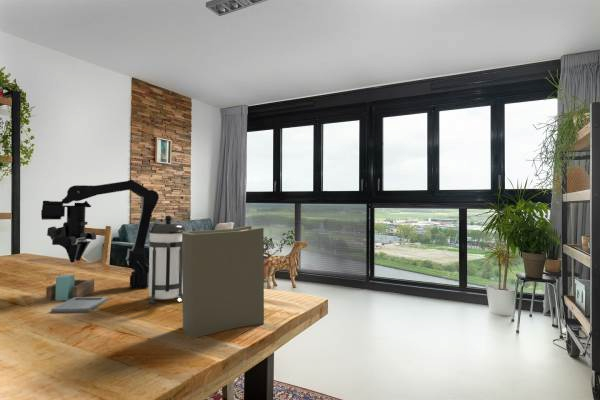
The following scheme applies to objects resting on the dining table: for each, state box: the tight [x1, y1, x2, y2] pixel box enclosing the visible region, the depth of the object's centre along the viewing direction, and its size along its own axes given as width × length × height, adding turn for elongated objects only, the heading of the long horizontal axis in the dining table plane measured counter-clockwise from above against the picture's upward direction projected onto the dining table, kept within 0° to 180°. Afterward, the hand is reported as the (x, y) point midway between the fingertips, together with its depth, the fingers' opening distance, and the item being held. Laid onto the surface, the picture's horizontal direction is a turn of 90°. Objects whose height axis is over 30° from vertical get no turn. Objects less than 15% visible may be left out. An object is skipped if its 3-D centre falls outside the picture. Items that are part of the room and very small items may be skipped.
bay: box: [45, 278, 95, 301], centre depth 125 cm, size 10×12×4 cm
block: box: [55, 274, 76, 301], centre depth 121 cm, size 4×4×8 cm
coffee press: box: [148, 215, 188, 305], centre depth 122 cm, size 17×16×30 cm
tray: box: [50, 296, 109, 313], centre depth 113 cm, size 11×13×1 cm
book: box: [182, 225, 265, 339], centre depth 98 cm, size 22×9×28 cm, turn 124°
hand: (75, 261), depth 127 cm, fingers open, 3 cm apart
